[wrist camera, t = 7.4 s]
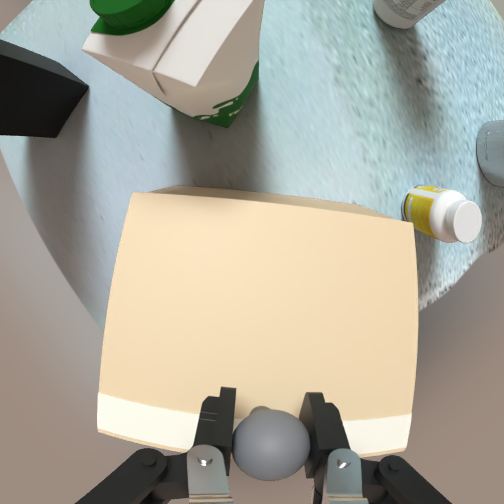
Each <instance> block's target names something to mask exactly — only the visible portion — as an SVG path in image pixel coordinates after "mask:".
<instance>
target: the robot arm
mask: <svg viewBox="0 0 504 504" xmlns="http://www.w3.org/2000/svg"><path fill="white" fill-rule="evenodd" d="M477 157H478V161H479V165H480V168H481V170H482V172H483V174H484V176H485V177H486V179H487V180H488V181H489V182H490V183H492V184H493V185H496V186H500V187H504V120H498V121H489V122H487V123H485V124H484V125H483V126H482V127H481V129H480V131H479V134H478V137H477ZM236 389H237V388H232V387H222V386H221V389H220V395H219V397H215V396H208V397H207V398H206V399H205V400H204V401H203V402H202V406H201V410H200V415H199V420H198V424H197V429H196V434H195V438H194V443H193V446H192V447H191V449H190V450H188V451H187V452H185V453H183V454H180V455H172V456H164V455H163V454H162V453H161V452H159V451H158V450H155V449H151V448H144V449H140V450H138V451H136V452H135V453H134V454H132V455H131V456H130V457H129V458H128V459H127V460H126V461H125V462H124V463H122V464H121V465H120V466H119V467H118V468H117V469H116V470H115V471H113V472H112V473H111V474H110V475H109V476H108V477H106V478H105V479H104V480H103V481H102V482H100V483H99V484H98V485H97V486H96V487H95V488H93V489H92V490H91V491H90V492H89V493H87V494H86V495H85V496H84V497H82V498H81V499H80V500H79V501H78V502H76V503H75V504H167V503H168V502H169V501H170V500H171V499H181V498H189V504H233V500H232V497H230V494H229V489H228V483H227V477H226V476H229V469H230V459H231V449H232V437H233V425H234V413H235V401H236ZM299 420H300V421H301V422H302V423H303V424H304V426H305V427H306V429H307V431H308V433H309V437H310V452H309V455H308V458H307V460H306V462H305V463H304V465H305V472H306V478H314V483H315V484H314V486H313V488H312V494H311V503H310V504H452V503H451V502H449V501H448V500H447V499H446V498H445V497H444V496H443V495H442V494H440V492H438V491H437V490H436V489H435V488H434V487H433V486H432V485H431V484H430V483H429V482H427V481H426V480H425V479H424V478H423V477H422V476H421V475H420V474H419V473H418V472H417V471H416V470H415V469H414V468H413V467H412V466H410V465H409V464H408V463H407V462H406V461H405V460H404V459H403V458H401V457H399V456H394V455H390V456H386V457H384V458H383V459H382V460H381V461H380V462H377V461H369V460H364V459H361V458H360V457H359V456H358V454H357V453H355V452H354V451H352V450H351V448H350V445H349V442H348V438H347V435H346V432H345V429H344V426H343V422H342V419H341V416H340V412H339V409H338V408H337V407H336V406H335V405H334V404H333V403H332V402H325V399H324V396H323V393H322V392H306V393H305V396H304V400H303V403H302V407H301V410H300V414H299Z"/></svg>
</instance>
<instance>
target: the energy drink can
mask: <svg viewBox="0 0 504 504" xmlns="http://www.w3.org/2000/svg"><path fill="white" fill-rule="evenodd" d="M444 1H446V0H373V6H374V9H375V12H376V14H377V15H378V16H379V18H380V19H381V20H382V21H384V22H385V23H386V24H388V25H390V26H393V27H396V28H401V29H407V28H410V27H412V26H413V25H415V24H416V23H417V22H418V21H420V20H421V19H422V18H423V17H425V16H426V15H427V14H429V13H430V12H431V11H432V10H434V9H435V8H436V7H438V6H439V5H440V4H442V3H443V2H444Z"/></svg>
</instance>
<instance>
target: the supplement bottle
mask: <svg viewBox="0 0 504 504" xmlns="http://www.w3.org/2000/svg"><path fill="white" fill-rule="evenodd" d="M402 213H403V217H404V219H405V221H406V222H411V223H413V227H414V229H416V230H418V231H420V232H422V233H425V234H427V235H429V236H431V237H433V238H436V239H438V240H440V241H442V242H446V243H453V242H456V241H459V242H461V243H470V242H472V241H473V240H474V239H475V238H476V237H477V236H478V234H479V232H480V229H481V225H482V216H481V212H480V209H479V207H478V206H477V205H476V204H475V203H474V202H471V201H468V200H466V198H465V197H464V196H463V195H462V194H461V193H459V192H457V191H455V190H450V189H444V188H439V187H433V186H427V185H416V186H414V187H412V188H411V189H409V190H408V191H407V193H406V194H405V196H404V199H403V202H402Z"/></svg>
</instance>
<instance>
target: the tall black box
mask: <svg viewBox="0 0 504 504" xmlns="http://www.w3.org/2000/svg"><path fill="white" fill-rule="evenodd" d="M88 88H89V86H88V85H87V84H86V83H84V82H83V81H82V80H80V79H79V78H78V77H77V76H75V75H74V74H73V73H71V72H70V71H69V70H68V69H66V68H65V67H64V66H62V65H61V64H60V63H58V62H56V61H54V60H52V59H49V58H47V57H44V56H42V55H40V54H37V53H35V52H32V51H30V50H27V49H25V48H22V47H19V46H17V45H14V44H11V43H9V42H6V41H3V40H0V135H10V136H33V137H49V138H55V137H57V135H58V133H59V132H60V130H61V128H62V127H63V125H64V123H65V122H66V120H67V119H68V117H69V115H70V114H71V112H72V111H73V109H74V108H75V106H76V105H77V103H78V102H79V100H80V99H81V98H82V96H83V95H84V93H85V92H86V91H87V89H88Z"/></svg>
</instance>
